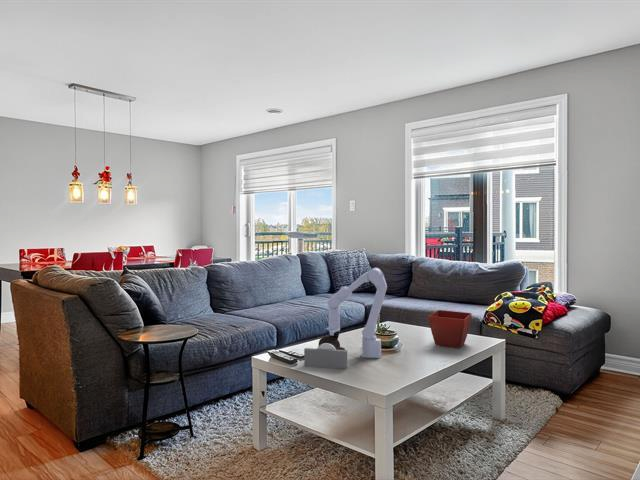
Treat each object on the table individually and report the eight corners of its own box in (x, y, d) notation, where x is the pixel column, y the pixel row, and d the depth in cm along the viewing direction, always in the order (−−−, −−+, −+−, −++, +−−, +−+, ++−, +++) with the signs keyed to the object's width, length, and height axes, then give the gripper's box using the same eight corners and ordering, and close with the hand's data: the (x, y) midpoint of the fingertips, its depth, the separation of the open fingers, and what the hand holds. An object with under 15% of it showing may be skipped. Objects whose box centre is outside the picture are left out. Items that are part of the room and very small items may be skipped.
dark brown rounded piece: (342, 348, 219) (347, 335, 233) (311, 348, 222) (317, 335, 236) (344, 367, 221) (348, 353, 235) (313, 367, 224) (319, 353, 238)
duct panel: (347, 366, 216) (347, 344, 215) (346, 368, 213) (346, 346, 212) (305, 364, 220) (305, 342, 220) (304, 366, 217) (304, 343, 216)
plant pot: (464, 351, 241) (464, 319, 240) (427, 346, 251) (428, 315, 250) (471, 343, 258) (472, 312, 257) (437, 339, 267) (437, 309, 267)
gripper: (329, 316, 245) (329, 342, 245) (323, 322, 230) (323, 349, 231) (342, 317, 243) (342, 342, 243) (337, 323, 229) (337, 350, 229)
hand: (334, 346), depth 237 cm, fingers closed
